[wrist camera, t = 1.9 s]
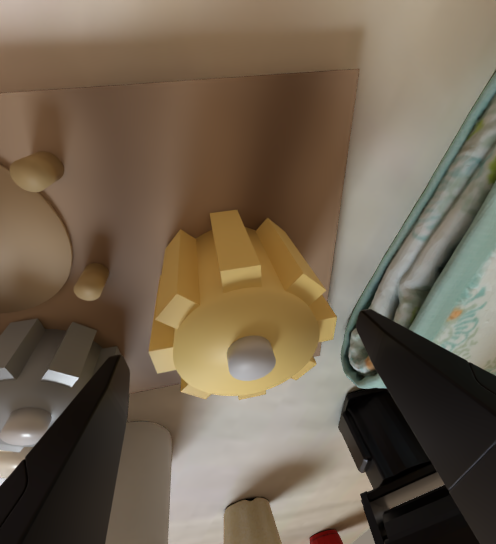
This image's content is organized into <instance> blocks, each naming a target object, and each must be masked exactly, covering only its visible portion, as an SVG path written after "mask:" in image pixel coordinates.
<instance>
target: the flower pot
mask: <svg viewBox="0 0 496 544" xmlns="http://www.w3.org/2000/svg"><path fill="white" fill-rule="evenodd" d="M224 544H282V543H281V540H280V536H279V533H278V530H277V527H276V524H275V521H274V517H273V514H272V511H271V508H270V504H269V502H268V500H266V499H264V498H259V497H257V498H255V499H254V500H253V501H247V500H241V501H238V502H237V503H235V504H233V505H230V506H229V507H228V508H227V509H226V511H225V513H224Z"/></svg>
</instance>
